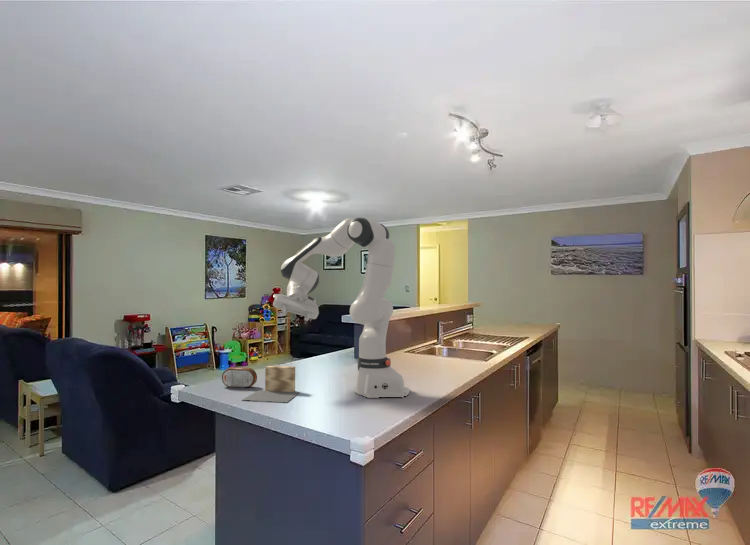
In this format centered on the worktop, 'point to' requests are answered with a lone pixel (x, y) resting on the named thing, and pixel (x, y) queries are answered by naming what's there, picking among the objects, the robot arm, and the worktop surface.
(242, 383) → the bluetooth speaker
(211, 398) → the worktop surface
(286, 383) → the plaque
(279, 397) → the mat
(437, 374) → the worktop surface
